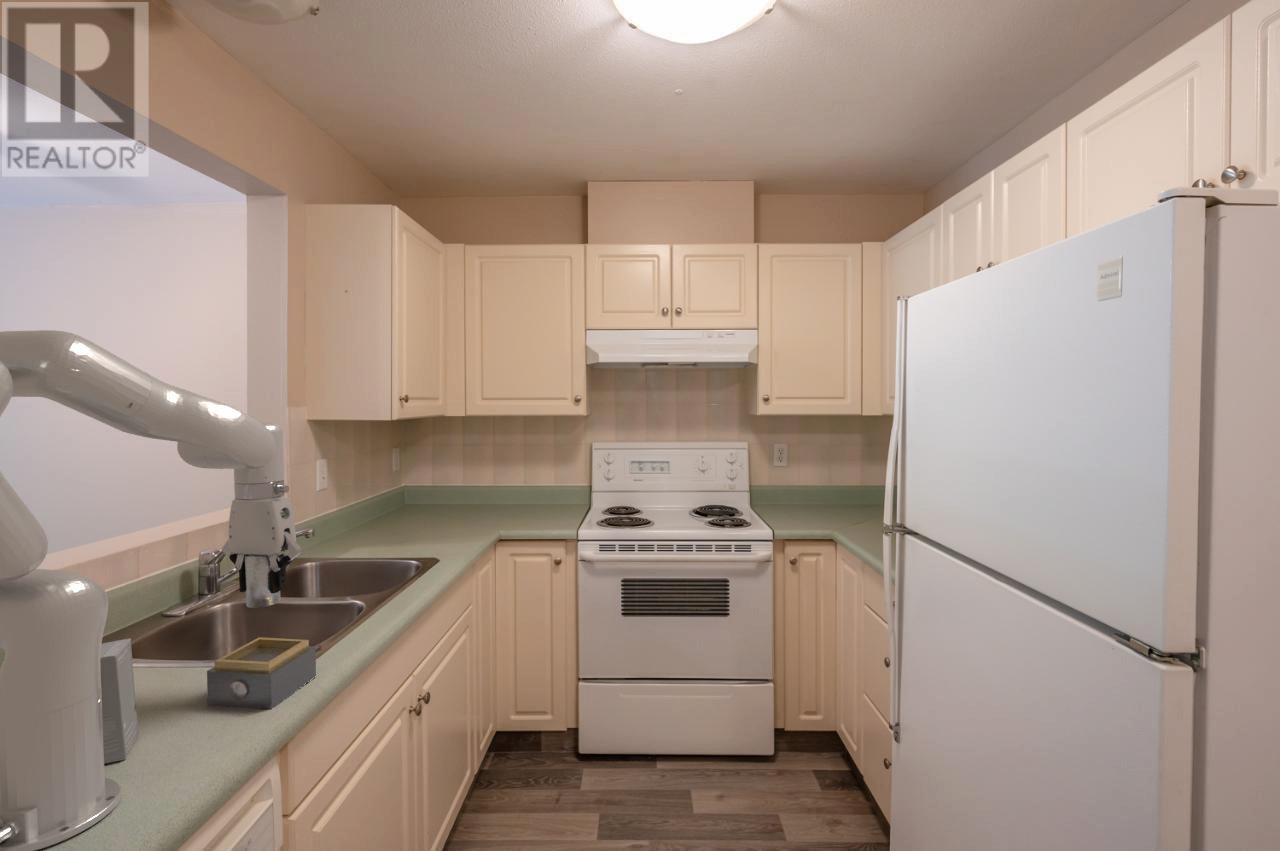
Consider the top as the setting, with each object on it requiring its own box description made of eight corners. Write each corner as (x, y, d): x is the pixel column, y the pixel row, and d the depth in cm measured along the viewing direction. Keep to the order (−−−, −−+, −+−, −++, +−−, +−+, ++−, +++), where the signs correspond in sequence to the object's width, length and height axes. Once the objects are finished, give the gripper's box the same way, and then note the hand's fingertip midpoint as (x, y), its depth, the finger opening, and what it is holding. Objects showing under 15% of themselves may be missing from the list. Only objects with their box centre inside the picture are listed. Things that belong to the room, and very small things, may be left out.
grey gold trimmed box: (269, 710, 99) (268, 667, 99) (205, 706, 100) (204, 663, 100) (316, 677, 111) (315, 638, 111) (258, 673, 112) (257, 635, 112)
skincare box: (126, 761, 85) (122, 655, 85) (60, 776, 82) (56, 666, 81) (141, 732, 93) (137, 634, 92) (80, 745, 89) (77, 643, 88)
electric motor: (266, 608, 103) (264, 552, 102) (239, 607, 103) (237, 551, 103) (291, 595, 109) (290, 543, 109) (266, 594, 110) (264, 542, 109)
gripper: (318, 488, 107) (320, 585, 108) (233, 487, 109) (236, 582, 110) (289, 495, 100) (292, 599, 101) (198, 493, 102) (202, 595, 103)
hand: (263, 589), depth 105 cm, fingers closed on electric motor, 5 cm apart
